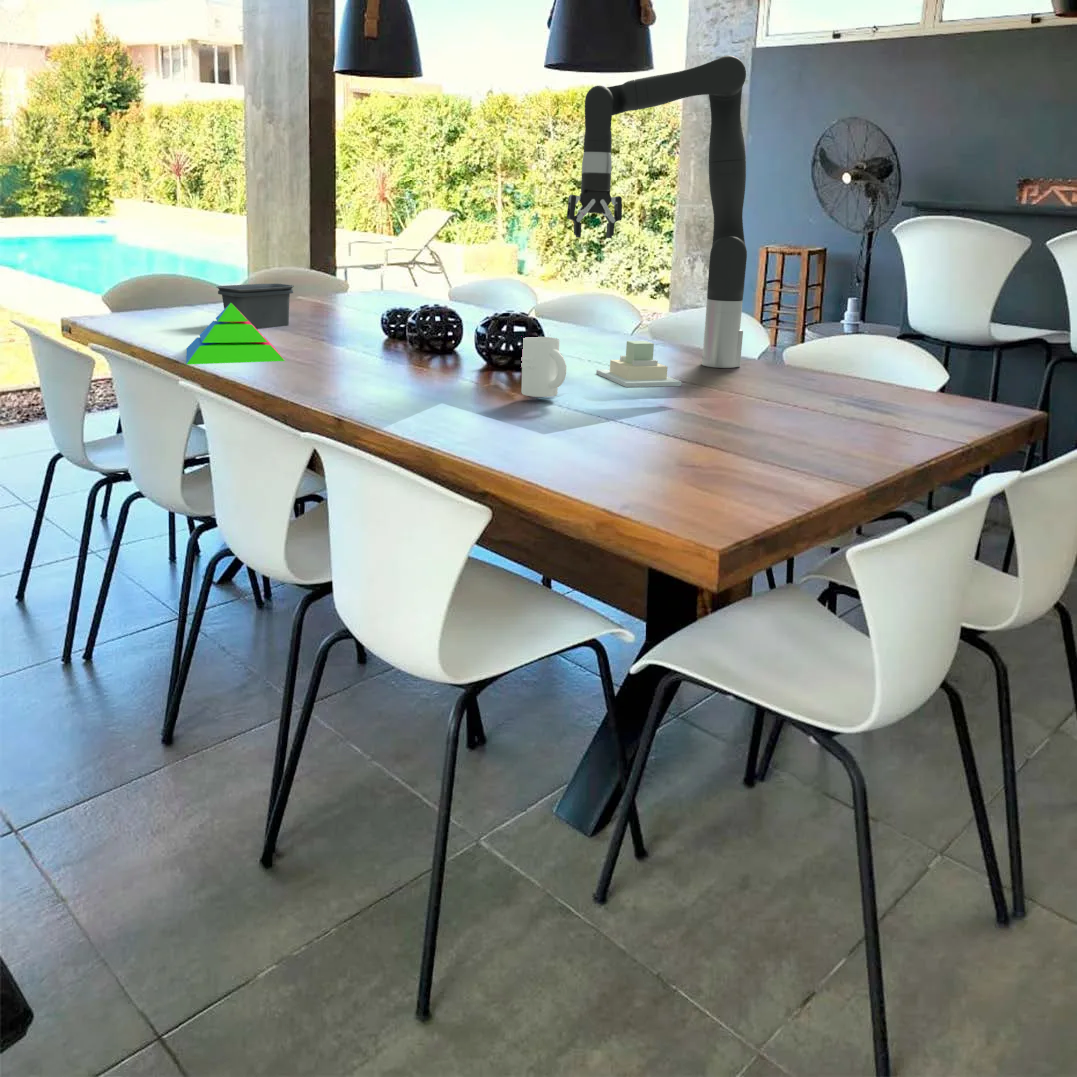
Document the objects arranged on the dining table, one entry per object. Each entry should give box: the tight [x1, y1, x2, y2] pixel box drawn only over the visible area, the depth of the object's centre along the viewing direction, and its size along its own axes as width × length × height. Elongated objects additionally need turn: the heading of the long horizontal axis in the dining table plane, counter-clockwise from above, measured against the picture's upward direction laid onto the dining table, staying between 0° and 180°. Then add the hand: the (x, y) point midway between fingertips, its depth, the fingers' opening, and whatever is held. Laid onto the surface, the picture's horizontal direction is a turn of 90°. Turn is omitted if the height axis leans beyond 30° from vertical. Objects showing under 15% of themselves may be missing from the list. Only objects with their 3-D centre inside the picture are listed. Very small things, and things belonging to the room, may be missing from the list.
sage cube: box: [625, 340, 655, 364], centre depth 250 cm, size 5×5×5 cm
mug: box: [520, 336, 567, 398], centre depth 225 cm, size 8×12×12 cm
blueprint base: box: [595, 355, 682, 388], centre depth 251 cm, size 14×20×5 cm
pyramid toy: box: [185, 303, 286, 365], centre depth 268 cm, size 25×25×14 cm
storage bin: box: [216, 283, 294, 330], centre depth 314 cm, size 21×16×14 cm
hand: (593, 237), depth 269 cm, fingers open, 8 cm apart
